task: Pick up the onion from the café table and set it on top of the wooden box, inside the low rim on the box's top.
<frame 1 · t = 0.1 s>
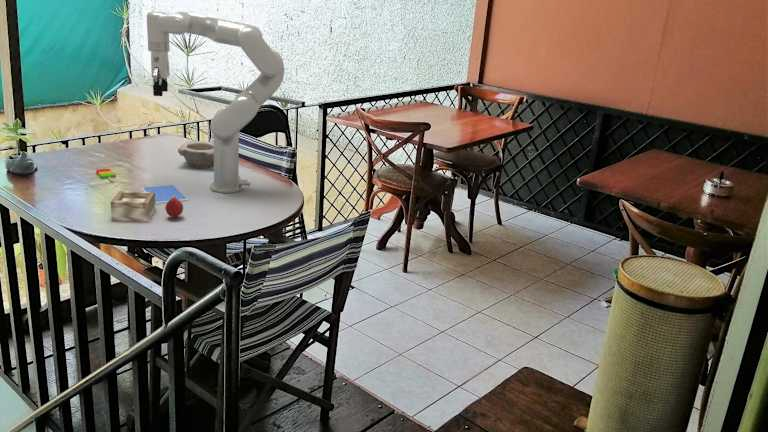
hand: (160, 93, 257), 37 cm above the table, tool pointing down, fingers open, 9 cm apart
tablet computer: (164, 196, 261), on the table
wooden box: (134, 215, 238), on the table
popsicle: (107, 178, 276), on the table
onion: (174, 218, 238), on the table
mortar: (201, 166, 300), on the table
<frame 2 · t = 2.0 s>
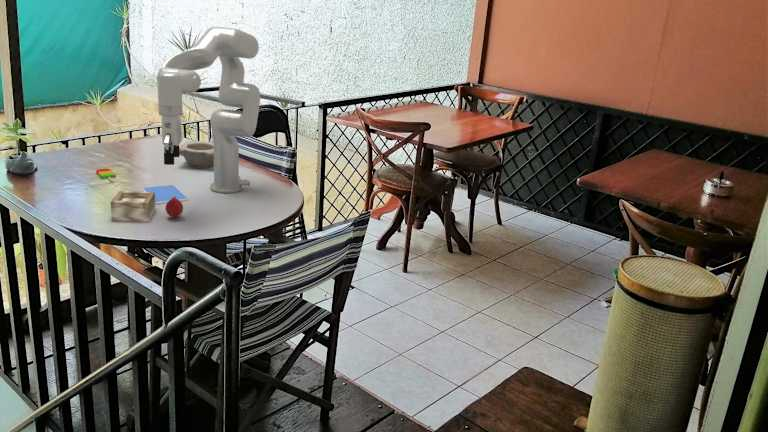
hand: (172, 160, 231), 21 cm above the table, tool pointing down, fingers open, 9 cm apart
nothing on the table moved.
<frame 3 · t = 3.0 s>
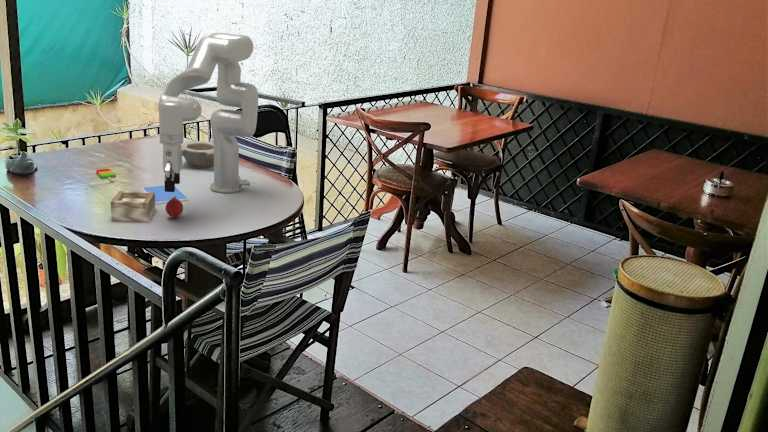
hand: (172, 187, 234), 11 cm above the table, tool pointing down, fingers open, 9 cm apart
nothing on the table moved.
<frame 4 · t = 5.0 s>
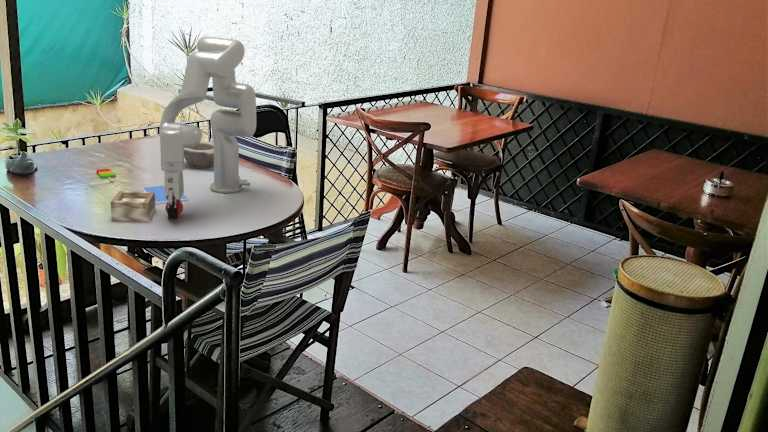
hand: (174, 214, 238), 1 cm above the table, tool pointing down, fingers closed on onion, 5 cm apart
onion: (174, 218, 238), on the table, touching gripper
everything else where it was.
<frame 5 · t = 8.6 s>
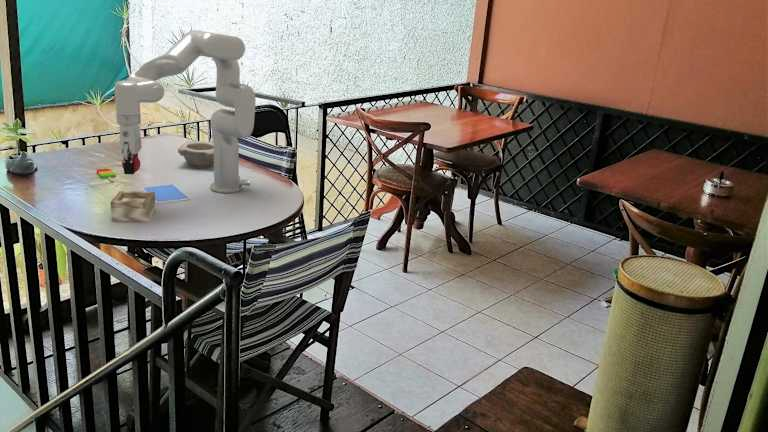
hand: (131, 170, 233), 16 cm above the table, tool pointing down, fingers closed on onion, 5 cm apart
onion: (131, 175, 233), point 15 cm above the table, touching gripper
everything else where it was.
when the fingers open (8 cm above the table, at t = 10.8 s): onion drops 2 cm, resting on wooden box.
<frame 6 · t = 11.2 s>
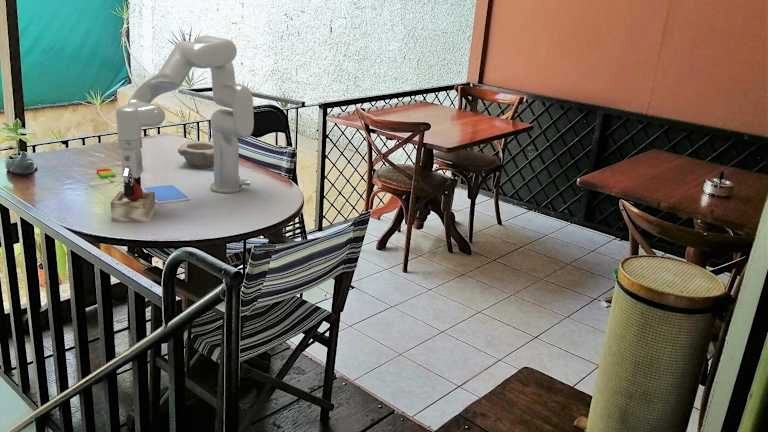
hand: (132, 191, 235), 9 cm above the table, tool pointing down, fingers open, 9 cm apart
wooden box: (134, 216, 238), on the table, touching onion
onion: (134, 202, 237), point 4 cm above the table, touching wooden box
everything else where it was.
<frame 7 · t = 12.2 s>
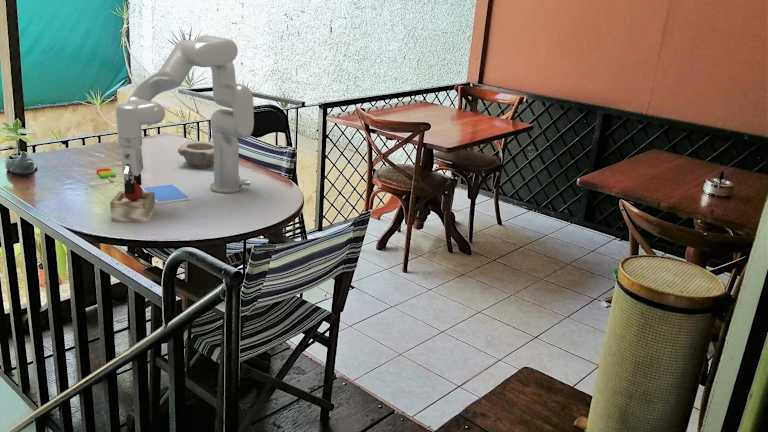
hand: (133, 189, 235), 9 cm above the table, tool pointing down, fingers open, 9 cm apart
nothing on the table moved.
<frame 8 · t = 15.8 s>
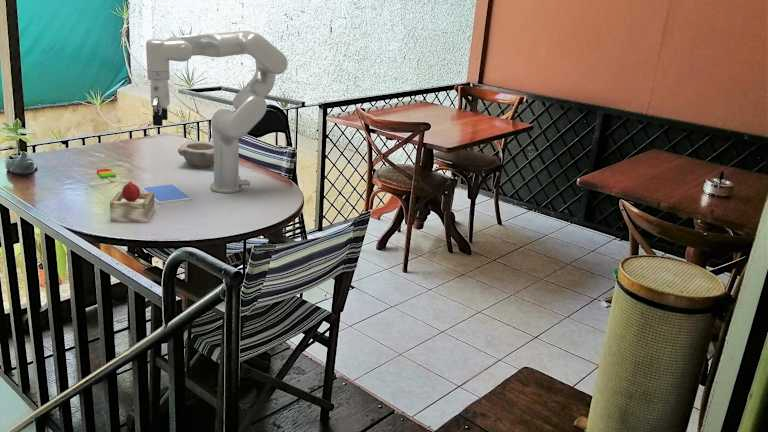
hand: (160, 122, 249), 28 cm above the table, tool pointing down, fingers open, 9 cm apart
at the end: onion inside the target area on the wooden box (0.1 cm from its centre), point 5.0 cm above the wooden box's base; onion touching wooden box; the gripper is holding nothing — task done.
